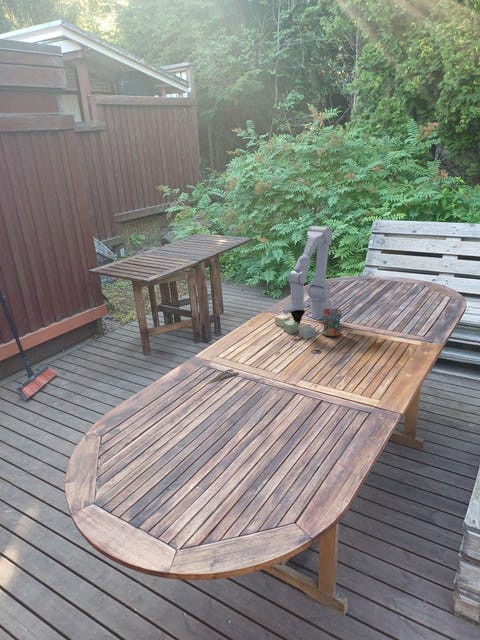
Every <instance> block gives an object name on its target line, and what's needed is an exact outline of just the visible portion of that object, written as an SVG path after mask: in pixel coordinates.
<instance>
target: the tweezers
mask: <svg viewBox="0 0 480 640" xmlns="http://www.w3.org/2000/svg"><path fill="white" fill-rule="evenodd" d="M232 370H234V369H233V368H232V369H231V368H228V369H227V370H224V371H222V372H221V373H220V374H218V375H216V376H215V377H214V378H212V379H210V380H209V381H208V382H207V383H205V386H206V385H210V384H211V383H214V382H218V381H219V380H223V379H225V377H226V378H229V377H231V375H232V376H235V375H234V374H236V375H238V373H239V371H236V372H234V371H232ZM228 371H230V372H228ZM227 372H228V373H227ZM225 373H226V374H225ZM223 374H224V375H223ZM222 375H223V376H222ZM220 376H221V377H220ZM228 376H229V377H228ZM222 378H223V379H222Z"/></svg>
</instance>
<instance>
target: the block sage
mask: <svg viewBox="0 0 480 640" xmlns="http://www.w3.org/2000/svg"><path fill="white" fill-rule="evenodd" d="M299 327H300V325H299V323H298V322H296V321H294V319H290V320H289V321H286V322H283V327H282V330H283V331H284V332H286V333H288V334H290V335H291V334H294V333H297V332H299Z"/></svg>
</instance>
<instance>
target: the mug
mask: <svg viewBox="0 0 480 640" xmlns="http://www.w3.org/2000/svg"><path fill="white" fill-rule="evenodd" d="M321 313H322V315H323V328H322V330H321V333H322V334H323V335H324V336H326V337H337V336H340V335H341V334H342V331H341V328H340V323H341V322H340V321H341V318H342V316H343V313H344V311H343V310H341V309H339V308H334V307H331V308H328V309H324V310H322V311H321Z"/></svg>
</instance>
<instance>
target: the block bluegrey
mask: <svg viewBox="0 0 480 640" xmlns="http://www.w3.org/2000/svg"><path fill="white" fill-rule="evenodd" d="M298 336H300V337H302V338H304V339H306V340H307V339H310V338H314V337H316V327H314V326H311V325H309V324H305V325H302V326H299V331H298Z"/></svg>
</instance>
